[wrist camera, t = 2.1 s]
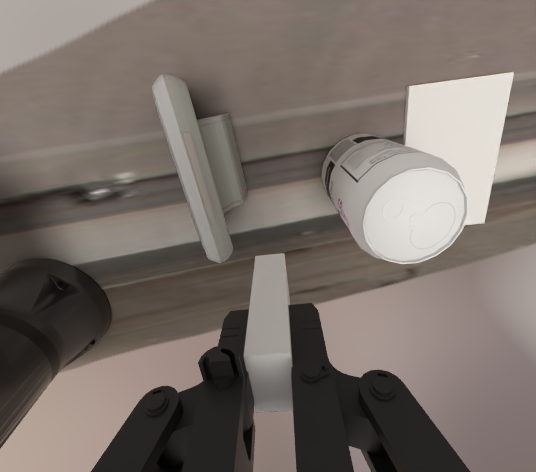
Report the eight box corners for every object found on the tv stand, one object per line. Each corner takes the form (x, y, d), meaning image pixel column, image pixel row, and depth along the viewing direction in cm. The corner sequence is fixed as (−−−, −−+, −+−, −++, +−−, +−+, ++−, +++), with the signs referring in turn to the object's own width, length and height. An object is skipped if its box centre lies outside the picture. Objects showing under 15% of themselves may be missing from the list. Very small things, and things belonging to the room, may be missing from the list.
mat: (397, 230, 37) (399, 232, 36) (406, 86, 30) (409, 86, 29) (481, 221, 36) (484, 223, 35) (509, 72, 29) (513, 72, 29)
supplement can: (407, 151, 33) (505, 188, 19) (368, 215, 36) (428, 286, 22) (343, 119, 31) (398, 135, 18) (308, 189, 35) (332, 247, 21)
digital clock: (155, 81, 30) (101, 72, 20) (244, 80, 30) (232, 72, 20) (176, 227, 37) (143, 273, 27) (248, 227, 37) (241, 273, 27)
